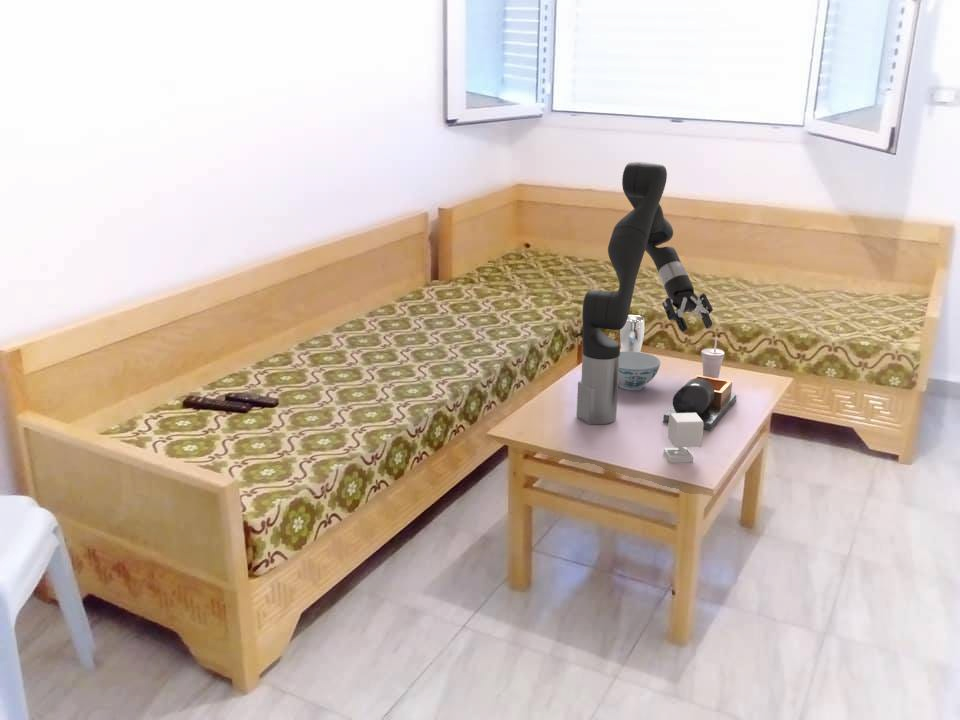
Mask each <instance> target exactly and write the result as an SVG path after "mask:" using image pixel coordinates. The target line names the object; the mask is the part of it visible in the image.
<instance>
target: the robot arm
mask: <svg viewBox="0 0 960 720" xmlns="http://www.w3.org/2000/svg"><path fill="white" fill-rule="evenodd" d="M625 165H626V166H625V167H624V168H623V169H624V170H623V172H622V180H621V181H622V182H621V185H622V191H623V193H624V194H625V197H626V198H627V200H628V201H629V203H630V205H631V206H632V207H633V209H632V210H631V211H629V213H627V214H626V215H625V216H623V217H622V218H621V219H620V220H619V221H618V222H617V223H616V224H615V226H613V227H614V228H613V230H612V233H611V236H610V240H609V243H608V247H607V254H608V257H609V260H610V263H611V265H612V268H613V269H614V271H615V273H616V277H617V279H618V283H619V288H618V290H617V291H608V290H600V289H590V290H588V291H587V292H586V293H585V295H584V299H583V303H582V317H581V318H582V340H581V341H582V360H581V361H582V362H581V363H582V364H581V379H580V381H578V382H577V397H576V417H577V418H579V419H580V420H581V421H583V422H585V423H586V424H587V425H607V424H611V423H613V422H616V420H617V411H618V410H617V408H618V391H619V390H618V389H619V383H618V377H619V361H620V352H621V344H620V343H619V342H618V341H617V340H616V339H614V338H612V337H610V336H608V335H607V334H605V333H604V332H603V331H602V329H603V330H613V331H620V329H622V328H623V327H624V326H625V324H626V321H627V318H628V315H630V314H629V313H630V310H631V306H632V305H631V304H632V299H633V297H634V296H633V295H634V290H635V286H636V281H637V278H638V274H639V270H640V268H641V264H642V260H643V257H644V256H645V252H646V253H647V254H648V255H649V257H650V259H651V260H652V261H653V263H654V265H655V267H656V270H657V271H658V274H659V278H660V281H661V284H662V286H663V288H664V290H665V292H666V295H667V298H666V299H664V301H663V302H662V306H663V308H664V312H665V314H666V316H667V319H668V320H669V321H675V322H676V325H677V326H678V330H679V331H681V333H685V332H686V331H688V325H687V323H686V321H685V318H684V317H682V316H683V314H684V313H685V314H686V313H694V314H695V315H698V316H700V318H701V320H702V323H703V325H704V328H705V329H707V330H709V329H710V328H711V327H712V326H713V321H712V319H711V316H710V313H712V312H713V310H714V308H713V306H712V305H711V303H710V301H709V299H708V297H707V295H706V294H705V293H702V294H700V295H696V293H695V289H694V285H693V283H692V282H691V281H692V280H691V278H690V277H689V275H688V272H687V271H686V268H685V267H684V265H683V263H682V261H681V259H680V258H679V255H678V253H677V251H676V249H675V248H674V247H673V246H663V247H662V246H661V247H658V246H660V245H662V244H665V243H668V242H670V241H671V239H673V236H674V229H673V227H672V224H671V223H670V222H669V221H668V219H666V218H665V217H664V211H663V209H662V206H661V204H660V201H661V199H662V196H663V195H664V190H665V189H666V183H667V179H668V172H667V168H666V166H664V164H661V163H655V162H646V161H645V162H644V161H631V162H628V163H627V164H625ZM674 307H675V308H674Z"/></svg>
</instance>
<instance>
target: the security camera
mask: <svg viewBox="0 0 960 720" xmlns="http://www.w3.org/2000/svg"><path fill="white" fill-rule="evenodd" d="M703 426H704V423H703V421H702V419H701V418H700V417H699V416H698V414H697V413H670V414H669V423H668V429H667V439H668V440H669V441H670V443H671V445H672V446H673V447H664V448H663V455H664V456H665V458H666V459H667V461H668V462H669V463H671V464H675V463H676V464H678V463H693V462H694V455H693V454H692V452H691V451H690V450H689V447H690V448H691V447H693V448H694V447H698V448H701V447H702V445H703V435H704V434H703V433H704V430H703Z"/></svg>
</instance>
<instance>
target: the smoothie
mask: <svg viewBox="0 0 960 720" xmlns="http://www.w3.org/2000/svg"><path fill="white" fill-rule="evenodd" d="M717 345H718V336H715V338H714V347H713V348H712V347H711V348H704V349H702V350H701V352H700V355H701V357H702V358H701V361H702V376H705V377H711V378H717V379H719V377H720V372H721V369H722V364H723V360H724V357H725V354H726V353H725V351H724V350H723V349H720V348H717Z"/></svg>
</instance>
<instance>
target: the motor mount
mask: <svg viewBox="0 0 960 720" xmlns="http://www.w3.org/2000/svg"><path fill="white" fill-rule="evenodd" d="M732 389H733V381H732V380H726V379H720V378H718V379H717V378H711V377H705V376H703V375H699V374H695V375H694V376H692V377H691V378H690V380H688V381H687V382H686V383H685V384H684V385H683V386H682V387H680V389H678V391H676V393H675V394H674V395H673V398H672V406H671V407H670V408H669V409H667V411H665V412H664V413H663V423H668V424H669V414H670V413H697V414H698V416H699V417H700V418H701V419H702V421H703V423H704V426H703V431H706V432H711V431H712V430H713V429H714V427H716V425H717V424H718V423H719V421H721V419H722V418H723V417H724V416H725V414H726V413H727V412H728V410H729V409H731V407H732V406H733V404H735V402H736V401H737V393H735V392H732Z"/></svg>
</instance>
